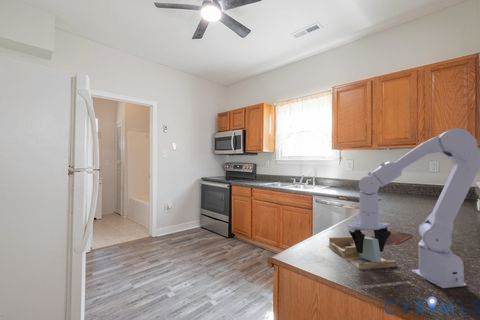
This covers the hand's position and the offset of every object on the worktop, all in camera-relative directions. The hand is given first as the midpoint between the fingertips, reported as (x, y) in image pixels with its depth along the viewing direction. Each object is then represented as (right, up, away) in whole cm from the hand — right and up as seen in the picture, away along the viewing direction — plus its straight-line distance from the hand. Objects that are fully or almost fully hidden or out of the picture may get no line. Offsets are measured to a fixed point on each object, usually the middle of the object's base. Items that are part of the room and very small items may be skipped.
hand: (369, 251), depth 74 cm
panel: (0, -3, 0) cm, 3 cm away
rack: (-1, -4, +6) cm, 7 cm away
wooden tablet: (+25, -5, +25) cm, 36 cm away
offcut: (+1, -4, +12) cm, 13 cm away
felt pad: (0, -4, 0) cm, 4 cm away
